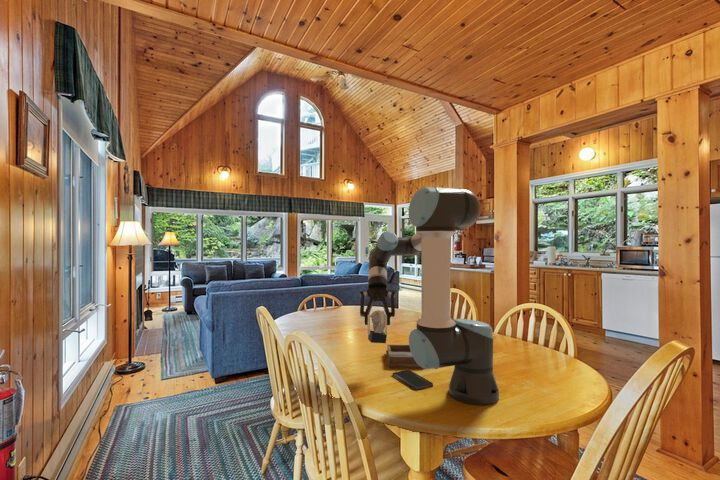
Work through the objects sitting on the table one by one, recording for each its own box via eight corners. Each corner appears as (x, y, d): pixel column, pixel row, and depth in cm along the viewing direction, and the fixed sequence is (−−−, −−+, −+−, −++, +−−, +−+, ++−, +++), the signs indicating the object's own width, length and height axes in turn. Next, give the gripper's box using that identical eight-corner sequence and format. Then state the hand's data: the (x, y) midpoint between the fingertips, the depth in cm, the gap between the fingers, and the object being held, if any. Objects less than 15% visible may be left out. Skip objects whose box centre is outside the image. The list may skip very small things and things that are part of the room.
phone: (415, 388, 117) (391, 372, 130) (415, 392, 117) (391, 376, 130) (434, 384, 120) (409, 369, 134) (434, 387, 120) (409, 372, 134)
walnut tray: (427, 368, 137) (427, 357, 137) (388, 367, 137) (388, 357, 137) (421, 353, 154) (421, 344, 154) (386, 353, 154) (386, 344, 154)
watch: (380, 337, 135) (384, 308, 135) (387, 344, 127) (391, 314, 127) (366, 337, 134) (369, 307, 133) (372, 344, 126) (375, 313, 126)
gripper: (400, 286, 145) (403, 338, 129) (355, 286, 147) (351, 337, 130) (401, 274, 140) (403, 327, 124) (354, 274, 141) (350, 326, 125)
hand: (377, 332), depth 127 cm, fingers closed on watch, 5 cm apart
